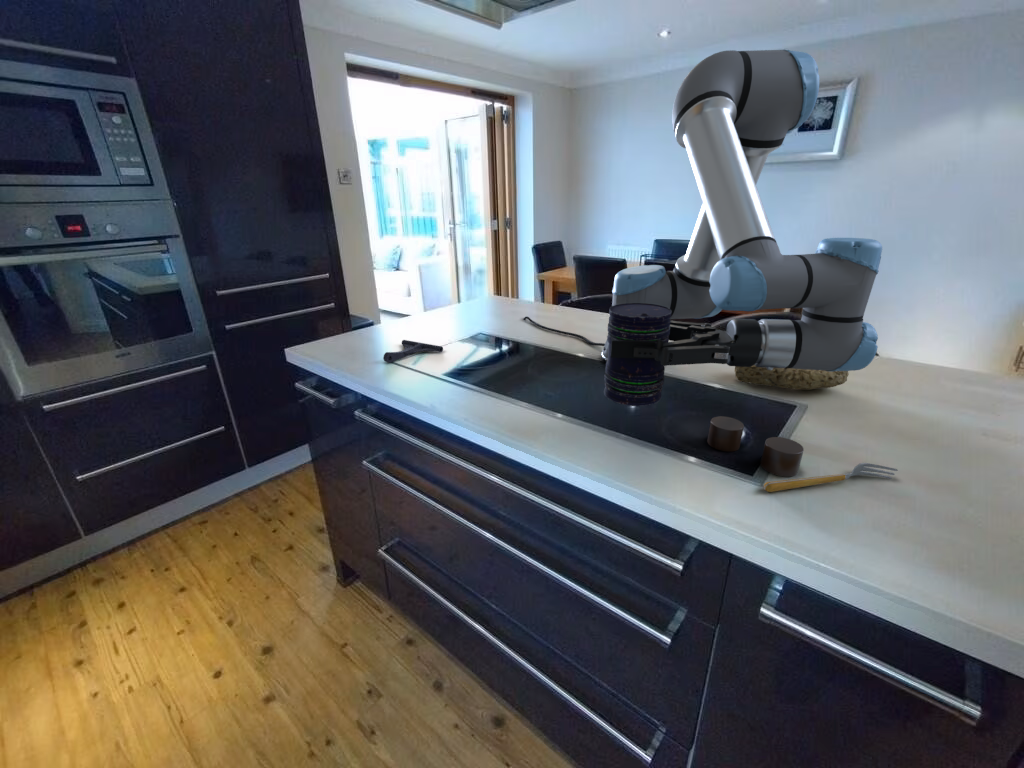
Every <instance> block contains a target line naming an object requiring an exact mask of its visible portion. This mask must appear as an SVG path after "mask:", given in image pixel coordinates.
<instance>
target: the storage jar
mask: <svg viewBox="0 0 1024 768" xmlns="http://www.w3.org/2000/svg"><path fill="white" fill-rule="evenodd" d="M671 313H672V311H671V309H669V308H667V307H664V306H660V305H655V304H647V303H625V304H618V305H614V306H612V305H611V306H610V307H609V311H608V315H609V316H608V323H607V335H606V340H607V339H608V340H607V341H608V343H609V346H608V361H607V363H605V371H604V377H603V379H604V390H603V394H604V396H605V398H607V400H609V401H611V402H613V403H616V404H619V405H623V406H628V407H647V406H652V405H655V404H658V403H659V402H660V401H661V399H662V391H663V386H664V383H665V370H666V367H665V366H663V365H661V361H656V360H655V358H654V359H638V358H614V357H611V343H612V339H615V340H643V341H655V342H656V344H657V339H660V340H662V341H664V343H666V342H670V340H669V339H668V338H669V334H670V321H671V319H670V317H671ZM656 344H655V347H656Z"/></svg>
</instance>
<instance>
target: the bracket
mask: <svg viewBox="0 0 1024 768" xmlns="http://www.w3.org/2000/svg"><path fill="white" fill-rule="evenodd" d="M401 345H402V346H403V347H404V349H402V350H399V351H387V352H386V351H385V353H384V354H383V361H384V362H385V363H388V364H389V363H390V364H391V363H394V362H396V361H398V360H401V359H403V358H405V357H408V356H411V355H413V354H416V353H422V352H423V353H424V352H437V353H442V352H443V351H444V347H443V346H442V345H436V344H431V343H425V342H420V341H413V340H407V339H402V340H401Z"/></svg>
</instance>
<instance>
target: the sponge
mask: <svg viewBox="0 0 1024 768" xmlns="http://www.w3.org/2000/svg"><path fill="white" fill-rule="evenodd" d="M733 371H734V375H735V379H736V380H737V381H739V382H741V383H748V384H753V385H754V384H755V385H758V386H768V387H776V388H780V389H789V390H799V391H800V390H802V391H803V390H804V391H805V390H807V391H810V390H818V389H827V388H835V387H838V386H840V385H843V384H845V383H846V382H847V381H848V377H849V371H825V370H809V369H793V368H773V370H767V367H756V366H755V365H753V366H751V367H739V366H734V370H733Z"/></svg>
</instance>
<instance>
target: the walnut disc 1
mask: <svg viewBox="0 0 1024 768" xmlns="http://www.w3.org/2000/svg"><path fill="white" fill-rule="evenodd" d="M744 428H745V425H744V423H743V422H742V421H740V420H739V419H737V418H734V417H730V416H725V415H724V416H723V415H722V416H721V415H720V416H719V415H718V416H714V417H712V418H711V419H710V423H709V427H708V435H707V440H706V442H707V444H708V445H709V446H710V447H711V448H713V449H715V450H718V451H720V452H726V453H727V452H729V453H730V452H736V451H738V450H739V449H740V447H741V442H742V438H743V432H744Z"/></svg>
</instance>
